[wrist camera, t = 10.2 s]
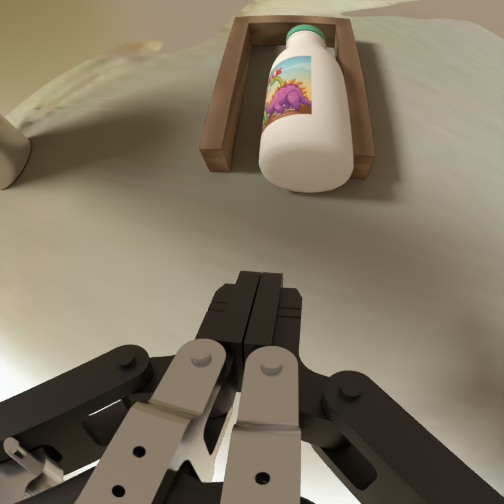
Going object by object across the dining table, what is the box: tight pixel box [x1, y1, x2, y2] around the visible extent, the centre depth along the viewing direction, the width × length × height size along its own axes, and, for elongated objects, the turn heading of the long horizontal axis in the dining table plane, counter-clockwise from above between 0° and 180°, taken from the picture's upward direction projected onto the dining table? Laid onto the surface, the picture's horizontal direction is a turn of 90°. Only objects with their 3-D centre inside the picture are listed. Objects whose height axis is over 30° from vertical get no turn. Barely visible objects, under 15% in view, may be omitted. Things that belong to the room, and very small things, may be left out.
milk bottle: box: [259, 25, 353, 193], centre depth 27 cm, size 8×8×20 cm
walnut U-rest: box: [199, 15, 375, 179], centre depth 29 cm, size 15×23×4 cm, turn 174°
